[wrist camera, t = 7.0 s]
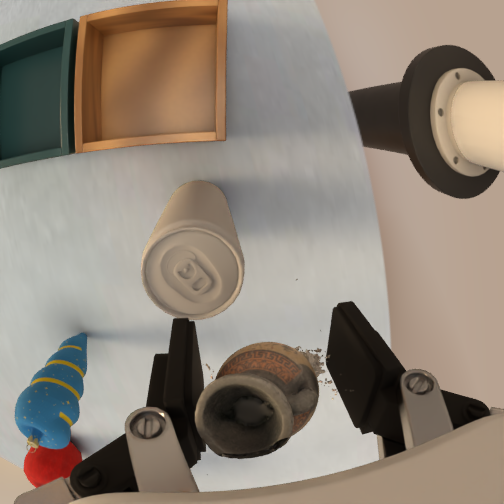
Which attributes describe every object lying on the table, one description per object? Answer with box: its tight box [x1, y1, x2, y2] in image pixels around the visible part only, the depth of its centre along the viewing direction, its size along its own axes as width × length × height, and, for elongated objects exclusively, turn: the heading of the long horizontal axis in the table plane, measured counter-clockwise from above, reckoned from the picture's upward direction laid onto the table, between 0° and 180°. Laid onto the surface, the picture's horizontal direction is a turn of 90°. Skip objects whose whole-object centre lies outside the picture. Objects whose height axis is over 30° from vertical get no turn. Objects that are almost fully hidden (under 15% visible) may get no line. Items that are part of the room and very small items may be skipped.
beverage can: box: [141, 181, 244, 320], centre depth 19 cm, size 5×5×12 cm
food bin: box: [74, 0, 228, 153], centre depth 18 cm, size 10×10×5 cm
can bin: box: [0, 19, 79, 169], centre depth 17 cm, size 10×10×5 cm
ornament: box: [15, 333, 87, 453], centre depth 20 cm, size 5×5×15 cm
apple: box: [24, 441, 82, 488], centre depth 29 cm, size 10×10×11 cm
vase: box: [195, 279, 351, 475], centre depth 9 cm, size 5×5×6 cm
